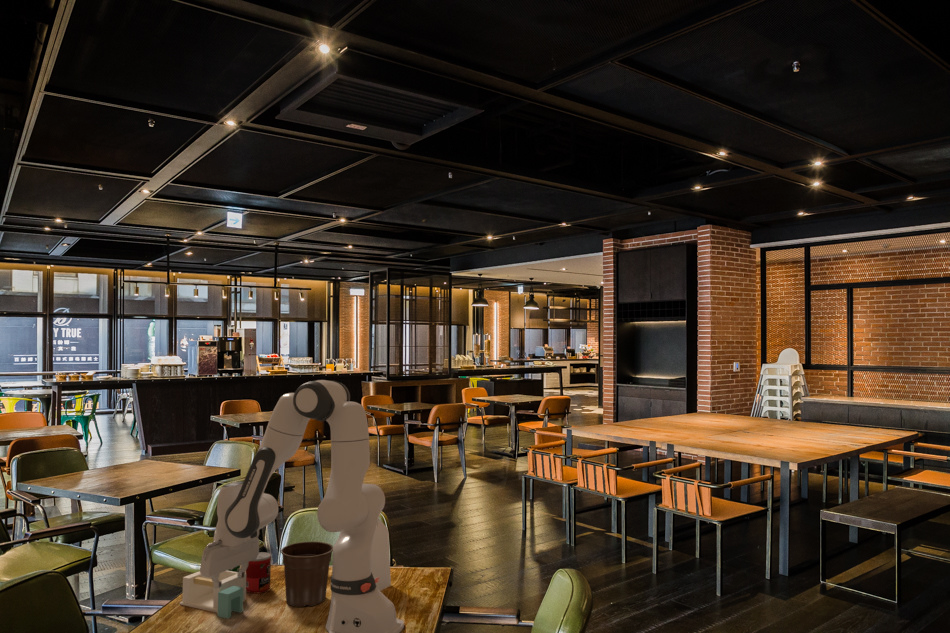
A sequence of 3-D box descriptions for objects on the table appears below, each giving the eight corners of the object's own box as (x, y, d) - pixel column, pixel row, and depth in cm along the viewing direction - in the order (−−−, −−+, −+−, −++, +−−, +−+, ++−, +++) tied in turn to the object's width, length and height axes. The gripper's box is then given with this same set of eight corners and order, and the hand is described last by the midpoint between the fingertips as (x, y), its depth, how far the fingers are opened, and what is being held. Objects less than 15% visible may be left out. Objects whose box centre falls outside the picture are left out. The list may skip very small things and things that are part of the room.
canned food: (262, 594, 207) (263, 559, 207) (240, 592, 208) (241, 558, 209) (274, 586, 214) (275, 552, 215) (253, 584, 216) (253, 551, 216)
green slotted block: (242, 611, 193) (243, 587, 193) (227, 618, 188) (228, 594, 188) (232, 609, 195) (233, 585, 195) (217, 616, 189) (218, 592, 190)
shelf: (245, 599, 202) (246, 573, 203) (217, 612, 192) (218, 585, 192) (208, 592, 209) (209, 567, 209) (179, 604, 198) (180, 578, 199)
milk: (390, 585, 215) (391, 507, 217) (370, 596, 205) (370, 514, 207) (362, 579, 221) (363, 503, 222) (340, 590, 210) (341, 510, 212)
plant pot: (342, 594, 207) (342, 543, 208) (315, 613, 192) (316, 558, 193) (298, 588, 212) (299, 539, 213) (269, 606, 197) (270, 553, 198)
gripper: (212, 546, 182) (209, 596, 181) (263, 529, 200) (261, 574, 200) (196, 543, 184) (193, 592, 184) (247, 526, 203) (246, 570, 202)
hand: (229, 582), depth 192 cm, fingers open, 8 cm apart
